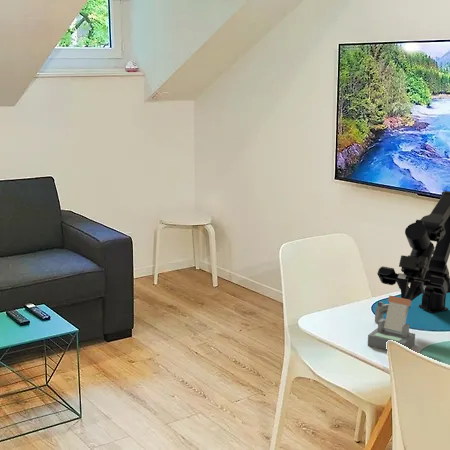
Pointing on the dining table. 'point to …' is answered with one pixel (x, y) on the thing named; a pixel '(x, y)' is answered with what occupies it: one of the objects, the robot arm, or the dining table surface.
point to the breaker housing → (390, 336)
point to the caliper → (380, 311)
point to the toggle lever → (397, 313)
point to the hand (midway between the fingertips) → (402, 306)
